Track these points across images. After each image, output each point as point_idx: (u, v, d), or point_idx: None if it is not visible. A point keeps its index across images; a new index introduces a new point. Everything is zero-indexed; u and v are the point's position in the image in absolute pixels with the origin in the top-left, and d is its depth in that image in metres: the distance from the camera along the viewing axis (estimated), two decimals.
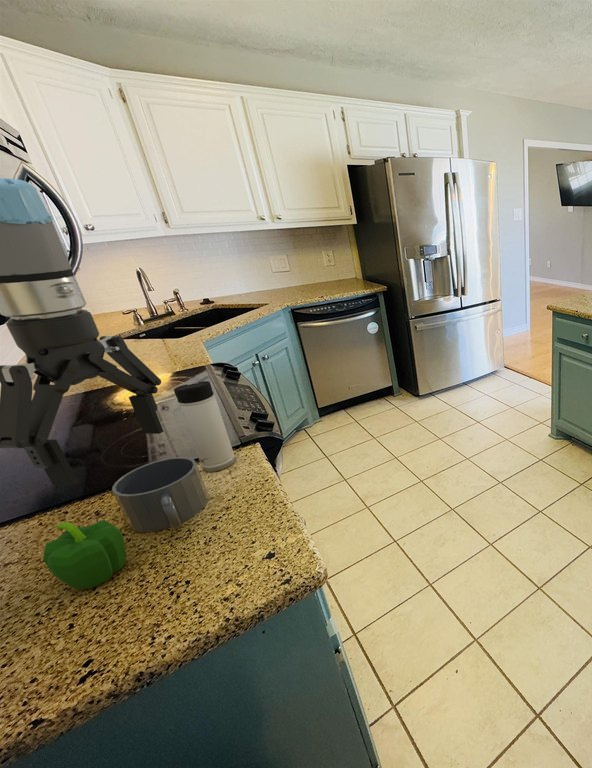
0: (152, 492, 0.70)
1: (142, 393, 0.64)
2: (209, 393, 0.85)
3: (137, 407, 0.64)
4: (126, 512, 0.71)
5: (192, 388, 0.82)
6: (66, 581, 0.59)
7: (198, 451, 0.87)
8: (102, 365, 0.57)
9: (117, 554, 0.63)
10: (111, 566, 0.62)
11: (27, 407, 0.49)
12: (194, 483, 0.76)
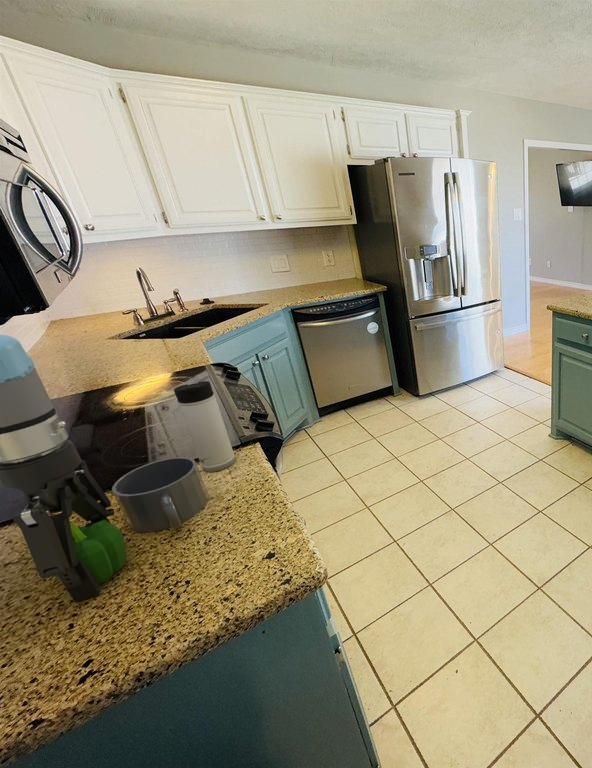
0: (152, 492, 0.70)
1: (98, 518, 0.65)
2: (209, 393, 0.85)
3: None
4: (126, 512, 0.71)
5: (192, 388, 0.82)
6: None
7: (198, 451, 0.87)
8: (80, 488, 0.60)
9: (118, 554, 0.63)
10: (111, 566, 0.62)
11: (57, 538, 0.54)
12: (194, 483, 0.76)
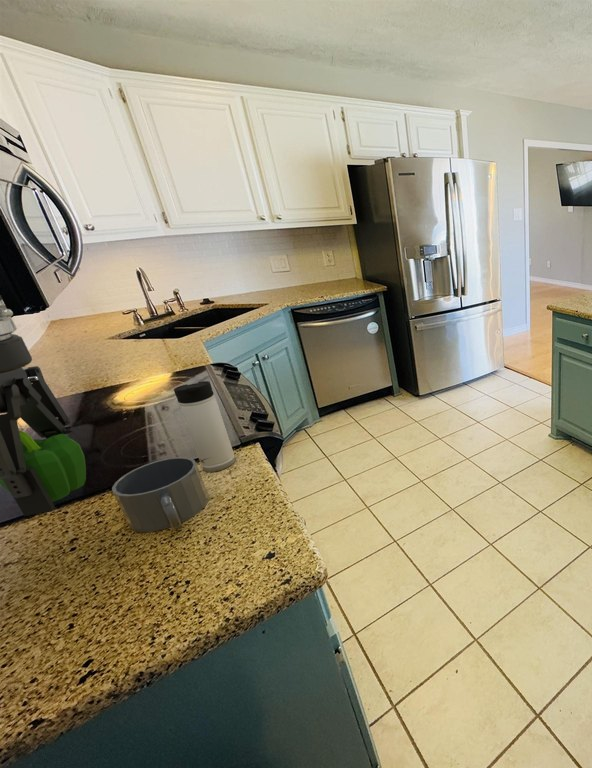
0: (152, 492, 0.70)
1: (55, 434, 0.59)
2: (209, 393, 0.85)
3: None
4: (126, 512, 0.71)
5: (192, 388, 0.82)
6: None
7: (198, 451, 0.87)
8: (31, 392, 0.54)
9: (76, 469, 0.57)
10: (68, 482, 0.57)
11: (0, 437, 0.49)
12: (194, 483, 0.76)
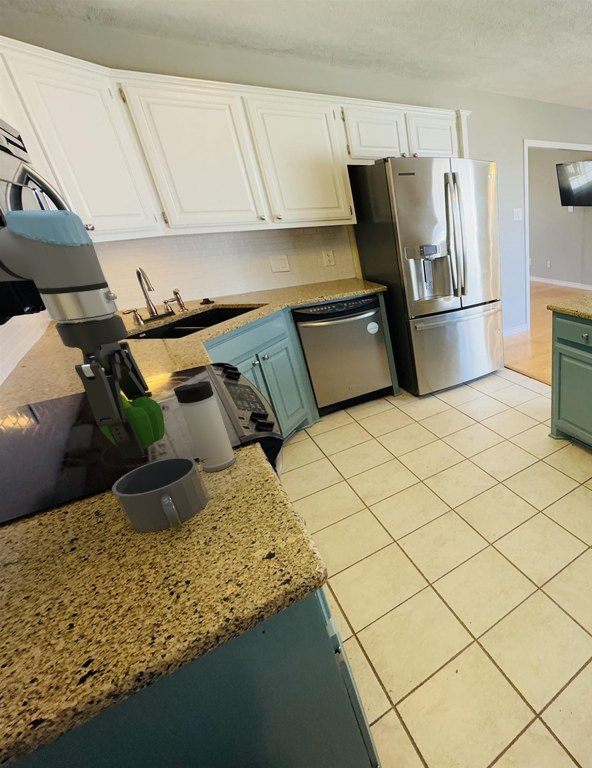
0: (152, 492, 0.70)
1: (139, 397, 0.73)
2: (209, 393, 0.85)
3: None
4: (126, 512, 0.71)
5: (192, 388, 0.82)
6: None
7: (198, 451, 0.87)
8: (125, 361, 0.68)
9: (158, 424, 0.71)
10: (153, 434, 0.71)
11: (110, 393, 0.63)
12: (194, 483, 0.76)
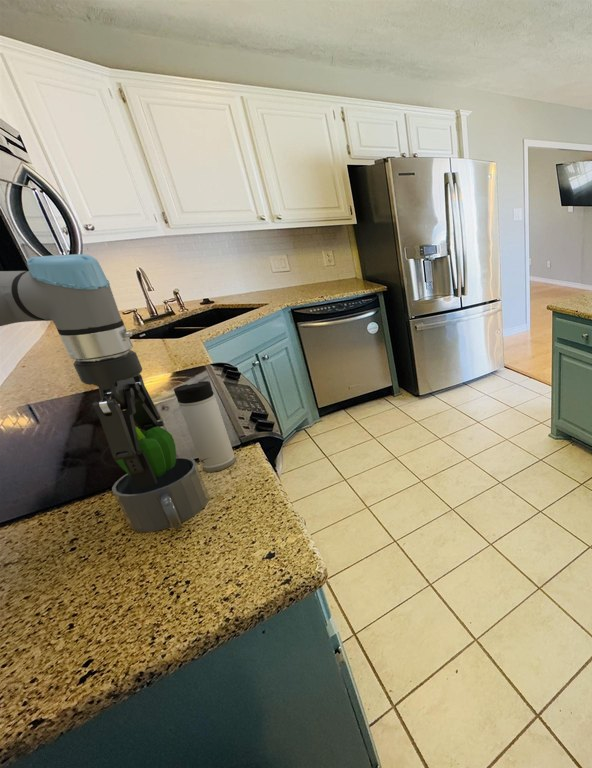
0: (152, 492, 0.70)
1: (151, 427, 0.76)
2: (209, 393, 0.85)
3: None
4: (126, 512, 0.71)
5: (192, 388, 0.82)
6: None
7: (198, 451, 0.87)
8: (139, 394, 0.71)
9: (170, 453, 0.74)
10: (165, 463, 0.73)
11: (126, 427, 0.65)
12: (194, 483, 0.76)
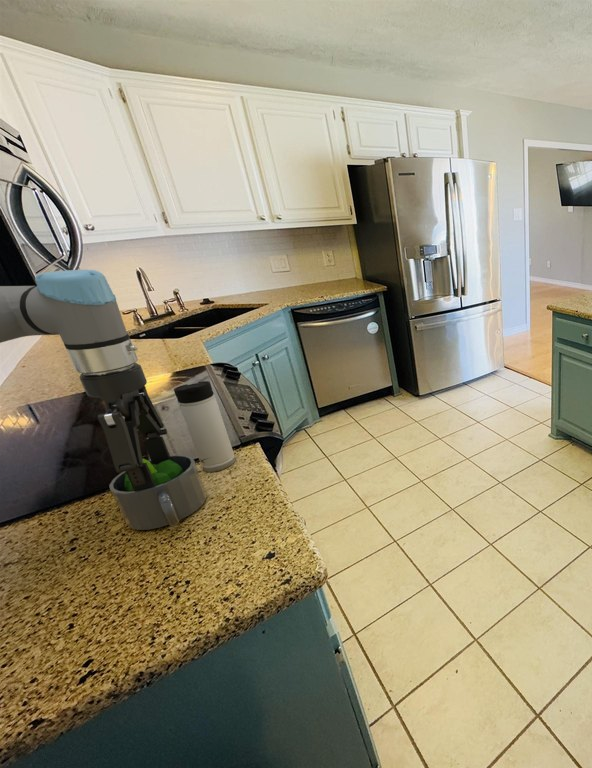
0: (150, 489, 0.70)
1: (155, 435, 0.77)
2: (209, 393, 0.85)
3: (151, 448, 0.77)
4: (123, 509, 0.71)
5: (192, 388, 0.82)
6: None
7: (198, 451, 0.87)
8: (143, 405, 0.72)
9: None
10: None
11: (129, 440, 0.66)
12: (192, 481, 0.76)
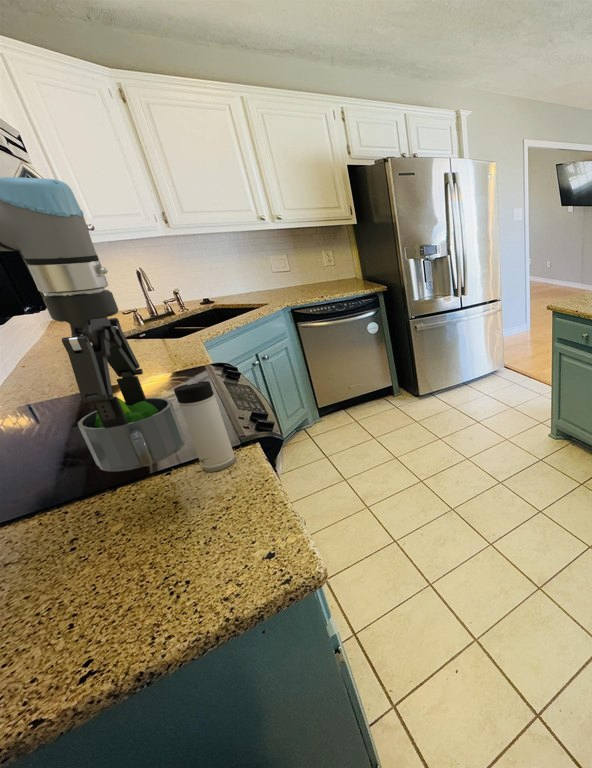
0: (121, 426, 0.65)
1: (129, 374, 0.72)
2: (209, 393, 0.85)
3: (125, 388, 0.72)
4: (93, 448, 0.66)
5: (192, 388, 0.82)
6: None
7: (198, 451, 0.87)
8: (115, 338, 0.67)
9: None
10: None
11: (97, 368, 0.61)
12: (168, 422, 0.71)
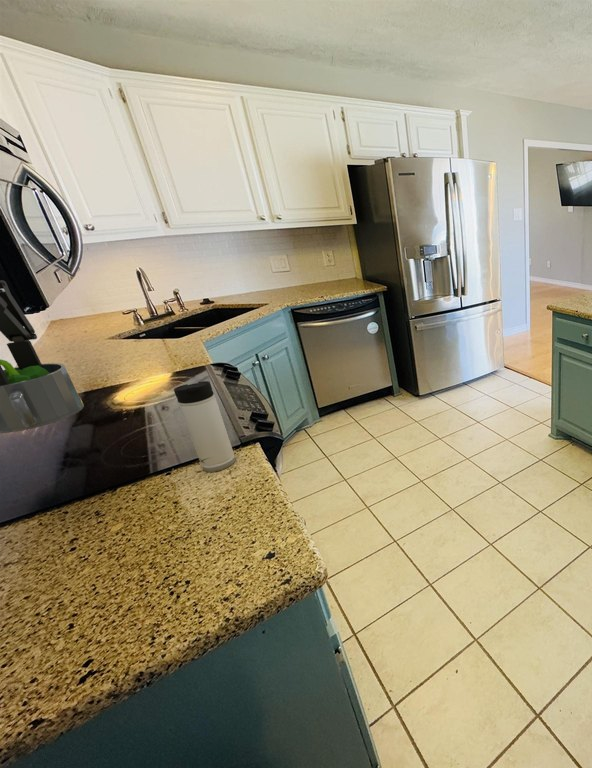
0: (1, 386, 0.65)
1: (21, 339, 0.72)
2: (209, 393, 0.85)
3: (17, 353, 0.72)
4: None
5: (192, 388, 0.82)
6: None
7: (198, 451, 0.87)
8: None
9: None
10: None
11: None
12: (59, 386, 0.70)
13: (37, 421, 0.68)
